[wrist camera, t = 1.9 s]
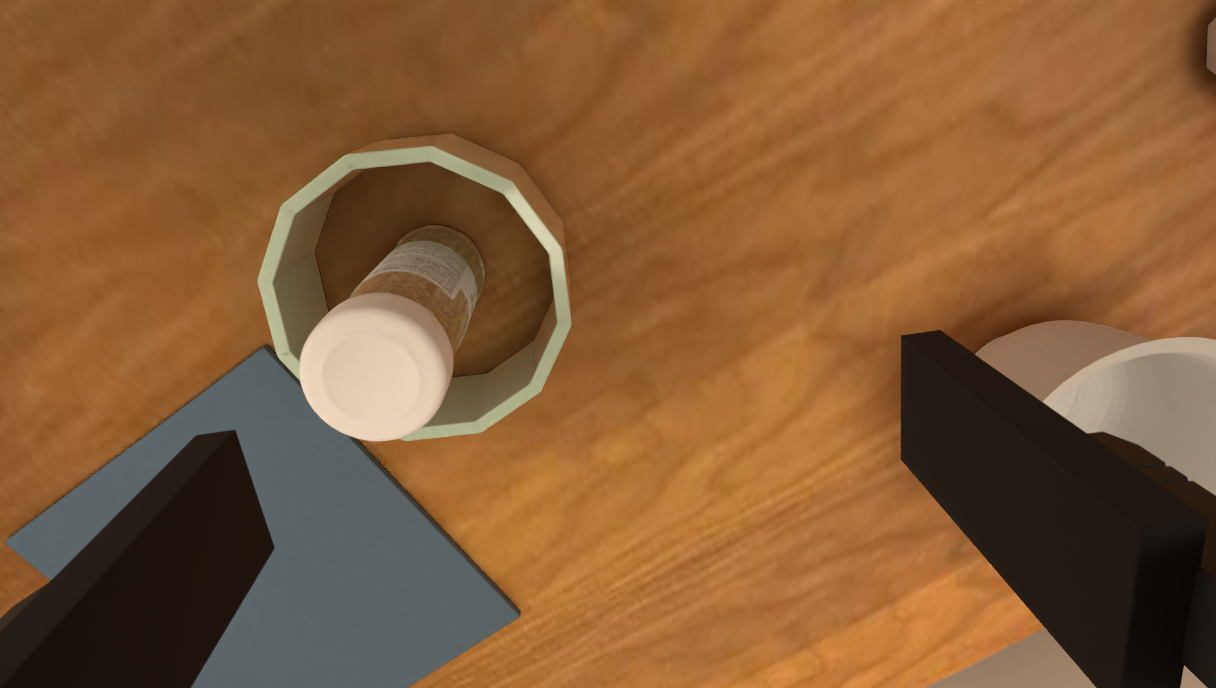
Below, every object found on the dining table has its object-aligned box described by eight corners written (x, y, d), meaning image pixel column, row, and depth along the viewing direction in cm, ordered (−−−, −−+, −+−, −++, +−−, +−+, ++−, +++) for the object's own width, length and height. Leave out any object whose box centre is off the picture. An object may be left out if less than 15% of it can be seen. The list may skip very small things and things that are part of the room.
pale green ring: (249, 241, 35) (195, 271, 30) (456, 78, 33) (437, 81, 28) (422, 431, 39) (401, 488, 34) (618, 295, 37) (626, 333, 32)
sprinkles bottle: (459, 331, 37) (405, 469, 25) (373, 286, 36) (270, 406, 24) (504, 251, 36) (471, 354, 23) (415, 202, 35) (331, 282, 22)
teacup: (899, 230, 37) (1014, 287, 27) (1168, 302, 39) (1360, 378, 29) (812, 448, 40) (887, 564, 31) (1061, 503, 43) (1201, 627, 33)
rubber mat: (10, 536, 40) (3, 542, 39) (266, 343, 37) (262, 347, 36) (283, 761, 46) (280, 768, 46) (520, 611, 43) (520, 617, 43)
